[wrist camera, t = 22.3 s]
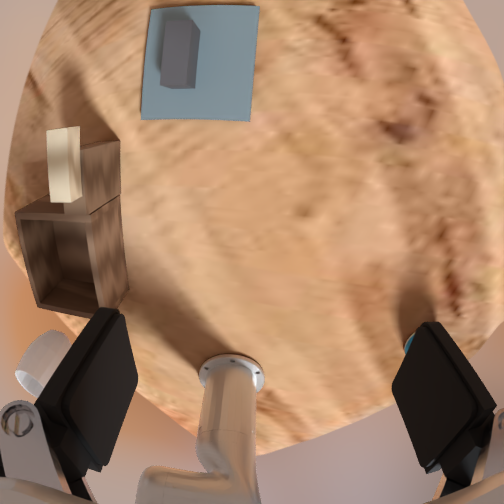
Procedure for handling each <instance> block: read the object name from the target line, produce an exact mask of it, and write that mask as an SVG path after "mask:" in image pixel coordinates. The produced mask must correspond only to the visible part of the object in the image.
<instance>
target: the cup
mask: <svg viewBox="0 0 504 504" xmlns="http://www.w3.org/2000/svg"><path fill="white" fill-rule="evenodd" d="M71 346H72V345H71V343H70V341H69V338H68V337H67V336H66V335H65V334H64V333H62V332H59V331H56V330H50V331H47V332H46V333H44V334H42V335H40V336H39V337H38V338H37V339H36V340H35V341H33V342H32V343H31V344H30V346H29V347H28V349H27V350H26V352H25V353H24V355H23V357H22V358H21V360H20V363H19V365H18V367H17V369H16V372H15V375H16V378H17V380H18V381H19V383H20V384H21V385H22V387H23V388H24V389H25V390H27V391H28V392H29V393H30V394H32V395H33V396H35V397H37V398H38V397H39V395H40V394H41V392H42V391H43V389H44V387H45V386H46V384H47V383H48V381H49V379H50V378H51V376H52V375H53V373H54V372H55V370H56V369H57V367H58V365H59V364H60V362H61V361H62V359H63V358H64V356H65V355H66V353H67V352H68V351H69V349H70V348H71Z"/></svg>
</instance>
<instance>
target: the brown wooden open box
mask: <svg viewBox="0 0 504 504" xmlns="http://www.w3.org/2000/svg"><path fill="white" fill-rule="evenodd" d="M80 166H81V184H82V197H80V198H78V199H76V200H75V201H73V202H71V203H66V202H51V200H50V195H47V196H45V197H43V198H41V199H39V200H37V201H35V202H33V203H31V204H29V205H27V206H25V207H24V208H22V209H20V210H18V211H16V212H15V217H16V223H17V229H18V234H19V239H20V244H21V249H22V253H23V257H24V262H25V266H26V270H27V273H28V277H29V281H30V284H31V288H32V291H33V294H34V298H35V301H36V304H37V307H39V308H42V309H47V310H51V311H56V312H60V313H65V314H69V315H74V316H79V317H84V318H89V319H91V318H92V317H93V315H94V314H95V312H96V311H97V310H98V309H99V308H100V307H107V308H114V309H117V307H118V306H119V304H120V303H121V301H122V300H123V298H124V297H125V295H126V293H127V292H128V290H129V285H128V278H127V270H126V262H125V253H124V243H123V232H122V219H121V204H120V195H119V194H121V176H120V141H102V142H96V143H92V144H87V145H83V146H80Z"/></svg>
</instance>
